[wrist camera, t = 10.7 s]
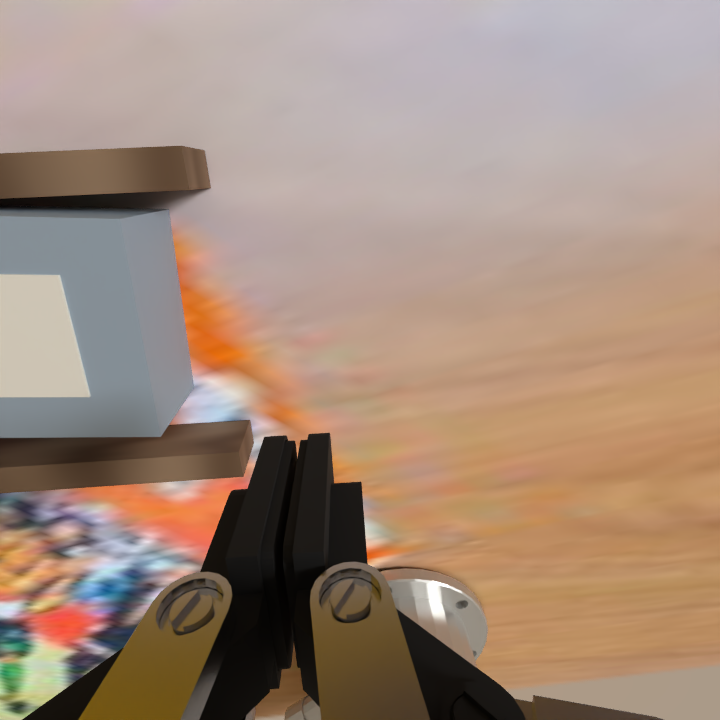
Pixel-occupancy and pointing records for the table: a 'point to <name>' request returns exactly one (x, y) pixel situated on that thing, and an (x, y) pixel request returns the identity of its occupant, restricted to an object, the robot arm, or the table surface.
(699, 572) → the table surface
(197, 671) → the robot arm
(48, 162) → the display bay
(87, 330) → the carton
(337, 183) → the table surface
